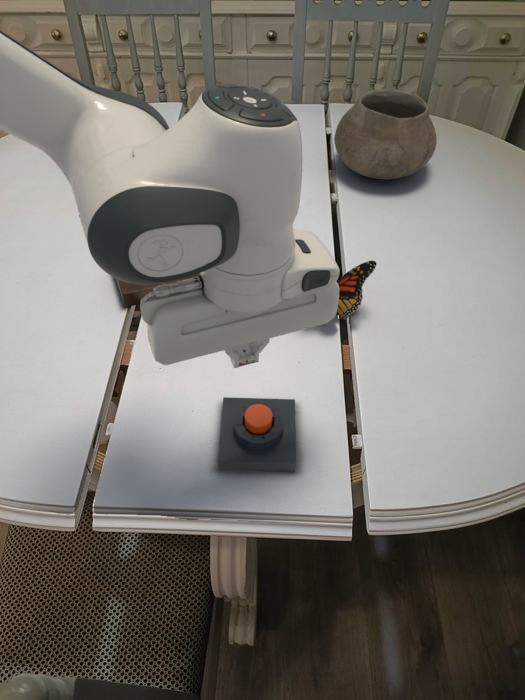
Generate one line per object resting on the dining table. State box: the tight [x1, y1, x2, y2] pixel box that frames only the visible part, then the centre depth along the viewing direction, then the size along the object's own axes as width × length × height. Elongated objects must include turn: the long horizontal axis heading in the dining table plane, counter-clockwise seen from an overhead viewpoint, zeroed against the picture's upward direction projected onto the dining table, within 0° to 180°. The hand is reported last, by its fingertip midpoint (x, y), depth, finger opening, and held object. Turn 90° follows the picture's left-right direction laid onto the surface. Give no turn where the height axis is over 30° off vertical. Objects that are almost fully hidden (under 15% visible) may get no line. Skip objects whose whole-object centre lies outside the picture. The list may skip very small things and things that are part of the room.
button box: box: [217, 396, 298, 472], centre depth 71 cm, size 10×10×4 cm
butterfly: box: [335, 260, 377, 320], centre depth 85 cm, size 12×10×10 cm
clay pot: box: [333, 88, 438, 180], centre depth 113 cm, size 22×21×15 cm
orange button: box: [245, 404, 273, 434], centre depth 69 cm, size 4×4×2 cm
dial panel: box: [115, 273, 200, 308], centre depth 92 cm, size 14×10×3 cm
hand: (244, 361), depth 61 cm, fingers closed
